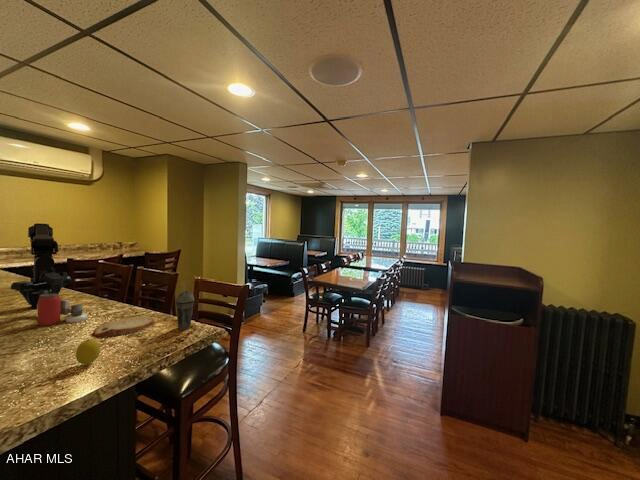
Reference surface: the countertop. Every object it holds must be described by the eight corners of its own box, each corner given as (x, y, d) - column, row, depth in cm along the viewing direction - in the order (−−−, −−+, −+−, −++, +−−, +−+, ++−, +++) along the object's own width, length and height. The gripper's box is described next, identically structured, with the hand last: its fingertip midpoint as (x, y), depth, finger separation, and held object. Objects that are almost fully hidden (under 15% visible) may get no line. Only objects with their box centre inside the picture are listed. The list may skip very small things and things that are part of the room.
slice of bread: (157, 320, 121) (157, 312, 121) (142, 336, 104) (143, 327, 104) (110, 322, 117) (111, 313, 116) (87, 339, 99) (87, 329, 99)
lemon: (85, 360, 84) (85, 335, 84) (104, 360, 84) (104, 335, 84) (70, 369, 78) (70, 343, 78) (90, 370, 79) (91, 343, 79)
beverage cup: (197, 326, 116) (199, 281, 115) (182, 332, 109) (184, 283, 108) (185, 323, 119) (187, 278, 118) (170, 328, 112) (172, 281, 111)
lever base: (71, 317, 118) (71, 313, 118) (90, 317, 120) (90, 312, 120) (61, 323, 111) (61, 318, 111) (81, 322, 113) (81, 317, 113)
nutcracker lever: (84, 313, 117) (85, 294, 116) (74, 316, 113) (75, 296, 112) (44, 308, 121) (44, 289, 120) (33, 310, 117) (33, 291, 116)
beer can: (64, 321, 113) (65, 293, 113) (47, 327, 107) (47, 297, 106) (50, 320, 114) (51, 292, 113) (32, 325, 107) (33, 295, 107)
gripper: (32, 271, 107) (31, 310, 108) (81, 265, 125) (80, 298, 126) (9, 269, 109) (9, 307, 109) (61, 263, 127) (60, 296, 128)
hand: (42, 301), depth 118 cm, fingers open, 9 cm apart
